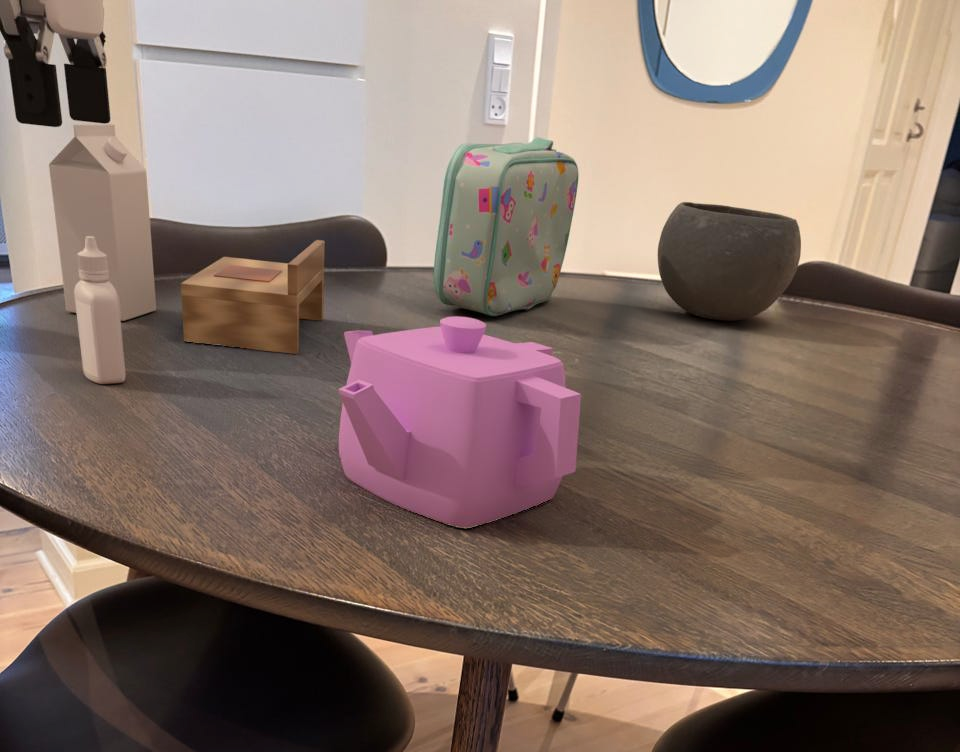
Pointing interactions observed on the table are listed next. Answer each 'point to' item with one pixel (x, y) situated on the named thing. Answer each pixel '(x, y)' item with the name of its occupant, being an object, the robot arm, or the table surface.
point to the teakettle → (456, 421)
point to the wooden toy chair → (254, 301)
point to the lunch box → (504, 225)
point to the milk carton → (104, 215)
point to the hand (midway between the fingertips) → (66, 123)
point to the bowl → (727, 259)
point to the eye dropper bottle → (98, 318)
